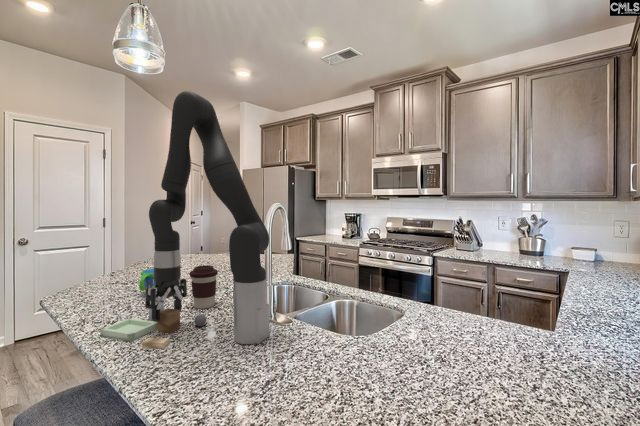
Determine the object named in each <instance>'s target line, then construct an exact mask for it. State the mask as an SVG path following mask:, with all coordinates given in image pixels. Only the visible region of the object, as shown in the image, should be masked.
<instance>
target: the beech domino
mask: <svg viewBox="0 0 640 426" xmlns="http://www.w3.org/2000/svg"><path fill="white" fill-rule="evenodd" d="M167 345H168V346H169V345H170V338H169V337H148V338H146V339H145V340H142V341H141V349H154V350H155V349H156V350H163V349H165V348H167V347H168V346H167Z"/></svg>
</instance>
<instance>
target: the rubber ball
mask: <svg viewBox="0 0 640 426" xmlns="http://www.w3.org/2000/svg"><path fill="white" fill-rule="evenodd" d="M206 323H207V317H206V315H205V314H197V316H196V317H195V318H194V324H195V325H196V326H197V327H203V326H205V324H206Z"/></svg>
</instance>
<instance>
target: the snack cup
mask: <svg viewBox="0 0 640 426" xmlns="http://www.w3.org/2000/svg"><path fill="white" fill-rule="evenodd" d="M140 275H141V277H140V280H139V284H138V289H139V291H142V292H143V291H144V293H145V294H146V289H147V288H154V287H155V285H156V282H155V281H154V268H147V269H143V270H141V272H140Z"/></svg>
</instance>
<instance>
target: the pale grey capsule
mask: <svg viewBox="0 0 640 426" xmlns="http://www.w3.org/2000/svg"><path fill="white" fill-rule="evenodd" d="M158 298H160V297H158ZM157 303H158V302H157ZM157 303H156V305H157ZM150 304H151V301H150ZM164 304H165V301H164V302H163V303H162V304H161V306H160V312H161V311H163V310H165V305H164ZM148 321H153V320H152V310H151V309H148ZM153 322H155V321H153Z"/></svg>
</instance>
